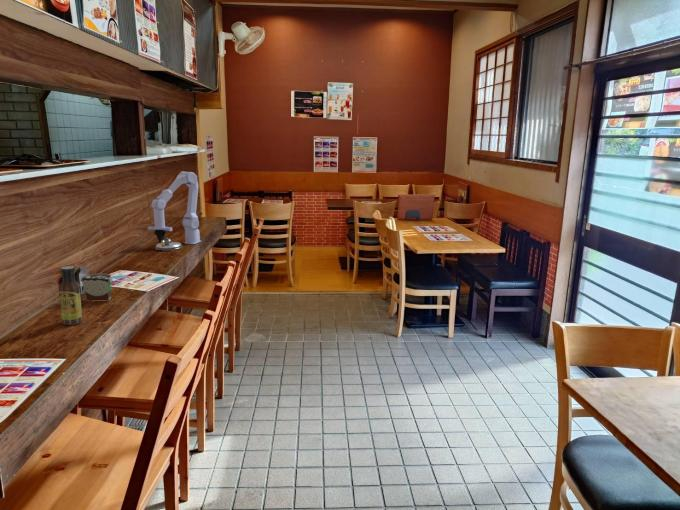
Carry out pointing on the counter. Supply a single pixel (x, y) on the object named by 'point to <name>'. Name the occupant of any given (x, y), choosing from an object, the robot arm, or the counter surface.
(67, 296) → the sauce bottle
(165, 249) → the turntable base
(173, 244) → the turntable
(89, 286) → the food container
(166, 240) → the lid
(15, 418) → the counter surface
